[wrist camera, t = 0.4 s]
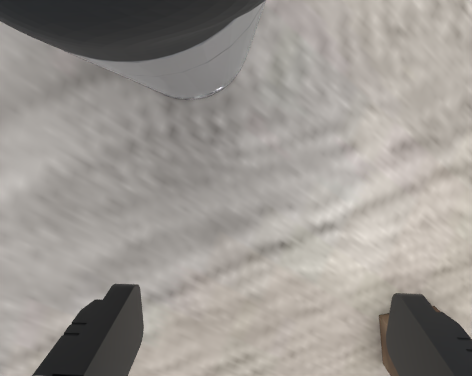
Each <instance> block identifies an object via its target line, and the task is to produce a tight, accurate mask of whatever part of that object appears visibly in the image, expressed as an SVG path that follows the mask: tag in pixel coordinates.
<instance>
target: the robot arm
mask: <svg viewBox="0 0 472 376" xmlns="http://www.w3.org/2000/svg"><path fill="white" fill-rule="evenodd" d="M265 1H266V0H0V21H1V22H3V23H5V24H7V25H9V26H11V27H13V28H15V29H16V30H18V31H21V32H23V33H25V34H27V35H29V36H31V37H34V38H36V39H38V40H40V41H43V42H45V43H47V44H50V45H52V46H54V47H57V48H59V49H62V50H64V51H66V52H68V53H70V54H73V55H75V56H77V57H79V58H82V59H84V60H86V61H89V62H91V63H93V64H96V65H98V66H100V67H103V68H105V69H108V70H110V71H112V72H114V73H117V74H119V75H121V76H124V77H126V78H128V79H131V80H133V81H135V82H137V83H140V84H142V85H144V86H147V87H149V88H151V89H153V90H156V91H158V92H160V93H163V94H165V95H166V96H169V97H173V98H178V99H185V100H189V99H200V98H204V97H208V96H211V95H213V94H215V93H217V92H219V91H220V90H222V89H223V88H225V87H226V86H227V85H228V84H229V83H230V82H232V80H233V79H234V78H235V77H236V75H237V74H238V73H239V71H240V69H241V67H242V65H243V63H244V61H245V59H246V56H247V53H248V51H249V48H250V45H251V42H252V40H253V37H254V34H255V31H256V28H257V25H258V22H259V19H260V16H261V13H262V10H263V7H264V4H265ZM143 328H144V325H143V314H142V303H141V293H140V287H139V285H135V284H114V285H113V286H112V287H111V288H110V290H109V291H108V293H107V294H106V296H105V297H104V299H103V300H94V301H93V302H91V303H90V304H89V305H87V306H86V307H84V308H83V309H82V310H81V311H80V312H79V313H78V315H77V316H76V317H75V319H74V320H73V321H72V325H70V326H69V327H68V328H67V330H66V331H65V332H64V335H63V336H61V338H60V339H59V340H58V342H57V343H56V344H55V346H54V347H53V348H52V350H51V351H50V352H49V354H48V355H47V356H46V358H45V359H44V360H43V362H42V363H41V364H40V366H39V367H38V369H37V370H36V371H35V373H34V374H33V375H32V376H128V374H129V371H130V369H131V366H132V364H133V362H134V359H135V357H136V355H137V352H138V350H139V348H140V345H141V342H142V337H143ZM386 345H387V350H388V354H389V356H390V358H391V360H392V362H393V364H394V367H395V369H396V371H397V373H398V375H399V376H472V341H471V338H470V337H469V335H468V334H467V333H466V332H465V331H464V329H463V328H462V327H461V326H460V325H459V324H458V323H457V322H456V321H454V320H453V319H451V318H450V317H448V316H447V315H446V314H444V313H443V312H436V311H435V310H434V308H433V307H432V306H431V304H430V303H429V302H428V301H427V299H426V298H425V297H424V296H423V295H421V294H401V293H396V294H394V295H393V297H392V302H391V308H390V314H389V320H388V326H387V331H386Z"/></svg>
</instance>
